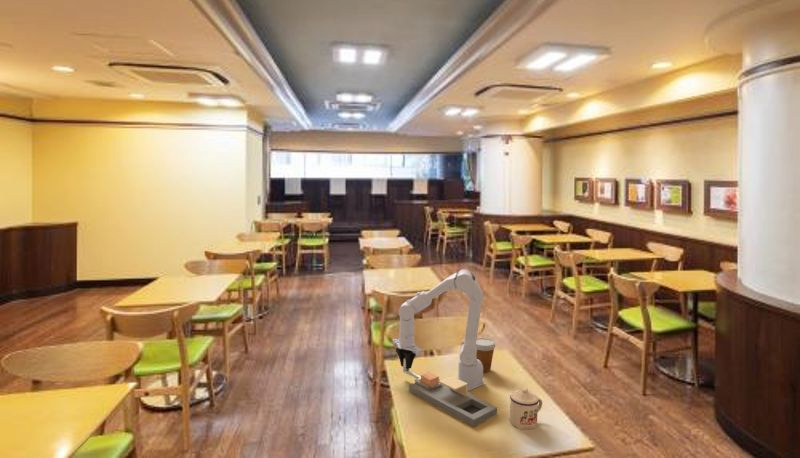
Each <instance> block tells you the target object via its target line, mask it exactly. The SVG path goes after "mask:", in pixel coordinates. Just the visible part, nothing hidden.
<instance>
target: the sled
mask: <svg viewBox="0 0 800 458" xmlns="http://www.w3.org/2000/svg"><path fill="white" fill-rule="evenodd" d="M402 372H403V373H404V374H406V375H408V376H410V377H412V378H414V383H417V384H419V385H421V386H423V387H425V388H427V389H429V390H432V389H435V388H437V387H439V386H442V384H440V383H436V384H434V385H431V386H428V385H426V384H424V383H422V382H421V375H419V374H417V373H415V372H413V371H411V370H410V369H406V360H405V357H403V367H402Z"/></svg>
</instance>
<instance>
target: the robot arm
mask: <svg viewBox="0 0 800 458" xmlns="http://www.w3.org/2000/svg"><path fill="white" fill-rule="evenodd" d="M448 290H452V291H457V290H459V291H460V292H463V293H464V294H465V295H466V296H467V297H468V298H469V304H468V305H469V306H468V311H467V312H468V313H467V318H466V319H467V321H466V326H465V333H464V339H463V340H464V341H463V343H462V344H461V345H460V354H459V359H458V373H457V375H458V377H457V379H459V380H461V381H463V382H466V383H468V391H471V390H473V389H476V388H478V387H480V386H483V385H485V382H484V380H483V379H484V373H483V365H482V363H481V361H480V360H478V359H477V356H476V355H477V347H476V340H477V338H478V332H479V324H480V317H481V311H482V304H483V299H484V298H483V297H484V292H483V290H482V288H481V285H480V284H479V281H478V279H477V277H476V275H475V274H474V273H473V272H472V271H471V270H469V269H466V268H463V269H460V270H459V271H458V272H455V273H453V274H451V275H450V276H448V277H446V278H445V279H444V280H442V281H441V282H440V283H438V284H437V285H435V286H434V287H433V288H431V289H430V290H429V291H418V292H416V294H415V296H414V297H412V298H411V299H407V300H406V301H405V302H403V303H401V306H400V307H399V309H398V316H399V329H398V330H399V333H398V334H399V337H398V338H393V339H392V345H395V346H397V347H396V348H395V352H396V354H397V355H398V358H399V359H398V360H399V362H400V367H402V368H403V357H405V360H406V369H409V370H410V369H412V367H413V362H414V360H415V358H416V356H420V355H422V349H421V348H419V347H418V346H417V345H416V344H415V315H414V314H418V313H420V312H421V311H423V310H425V308H427V307H429V306H430V305H431V304H432V301H433V299H435V298H437V297H438V296H440V295H442V294H444V293H445V292H446V291H448Z"/></svg>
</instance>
